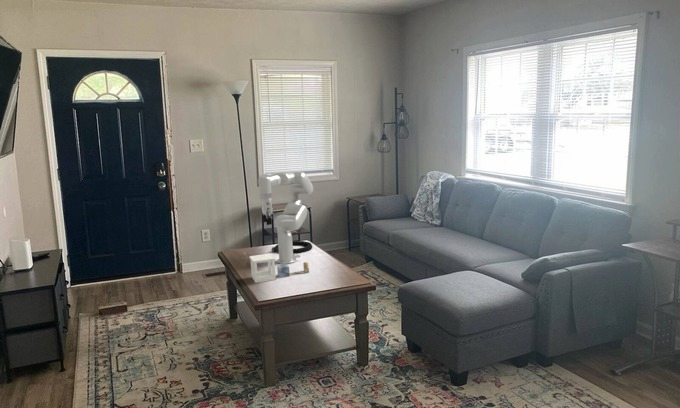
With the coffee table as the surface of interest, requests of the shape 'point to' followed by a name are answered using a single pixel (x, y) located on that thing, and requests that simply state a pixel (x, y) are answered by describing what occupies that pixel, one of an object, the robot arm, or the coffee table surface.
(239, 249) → the coffee table surface
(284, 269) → the block
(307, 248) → the cable lock
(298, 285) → the coffee table surface
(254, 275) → the white open frame box
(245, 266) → the coffee table surface
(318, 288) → the coffee table surface
